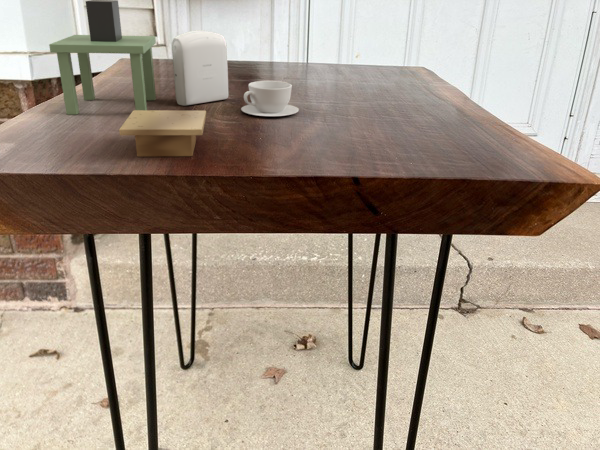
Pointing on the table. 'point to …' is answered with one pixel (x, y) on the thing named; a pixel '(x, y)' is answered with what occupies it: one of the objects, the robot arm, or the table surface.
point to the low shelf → (164, 131)
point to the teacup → (269, 99)
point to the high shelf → (83, 46)
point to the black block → (104, 20)
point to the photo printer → (200, 67)
